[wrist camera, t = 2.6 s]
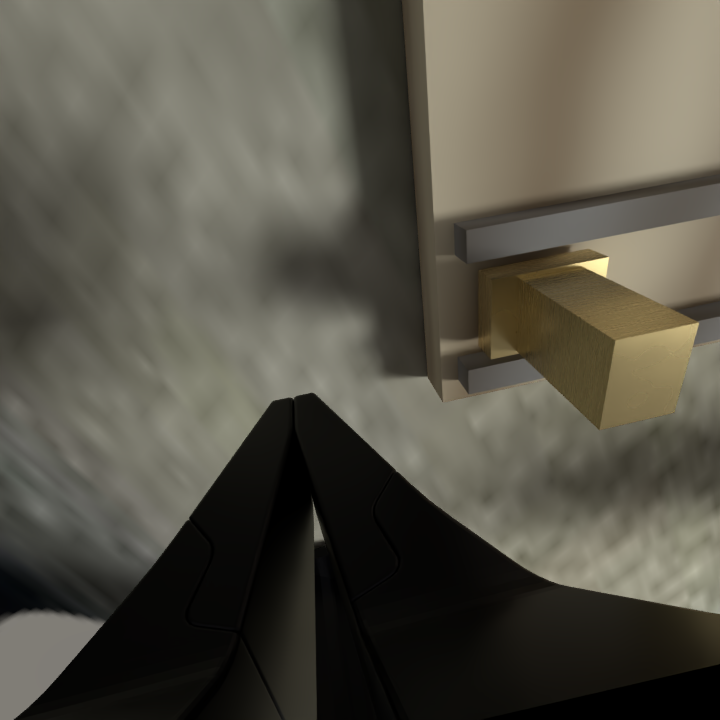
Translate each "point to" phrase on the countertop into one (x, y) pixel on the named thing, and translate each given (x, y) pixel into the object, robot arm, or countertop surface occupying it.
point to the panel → (561, 157)
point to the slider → (587, 335)
